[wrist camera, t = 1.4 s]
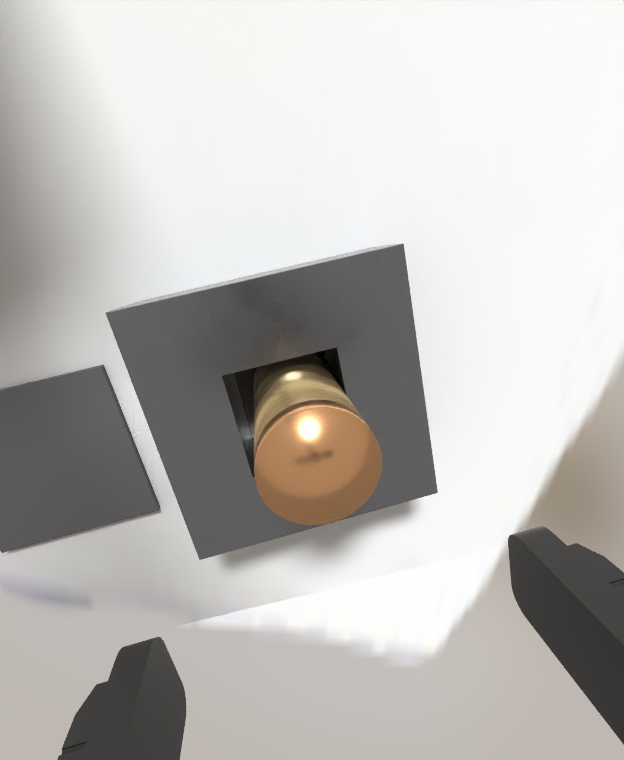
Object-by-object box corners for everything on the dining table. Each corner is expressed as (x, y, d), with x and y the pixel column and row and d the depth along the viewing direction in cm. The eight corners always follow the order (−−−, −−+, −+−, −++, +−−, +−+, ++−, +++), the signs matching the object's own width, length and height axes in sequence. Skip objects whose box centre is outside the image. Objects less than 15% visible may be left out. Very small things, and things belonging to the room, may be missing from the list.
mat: (-75, 407, 22) (-80, 410, 22) (103, 364, 23) (100, 366, 23) (5, 548, 26) (1, 552, 25) (159, 506, 26) (158, 510, 26)
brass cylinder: (244, 357, 24) (239, 428, 14) (320, 338, 25) (370, 394, 14) (264, 427, 26) (272, 539, 15) (335, 408, 26) (390, 506, 16)
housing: (136, 302, 22) (105, 313, 18) (372, 247, 23) (403, 243, 19) (209, 506, 27) (199, 559, 22) (405, 453, 28) (437, 492, 23)
